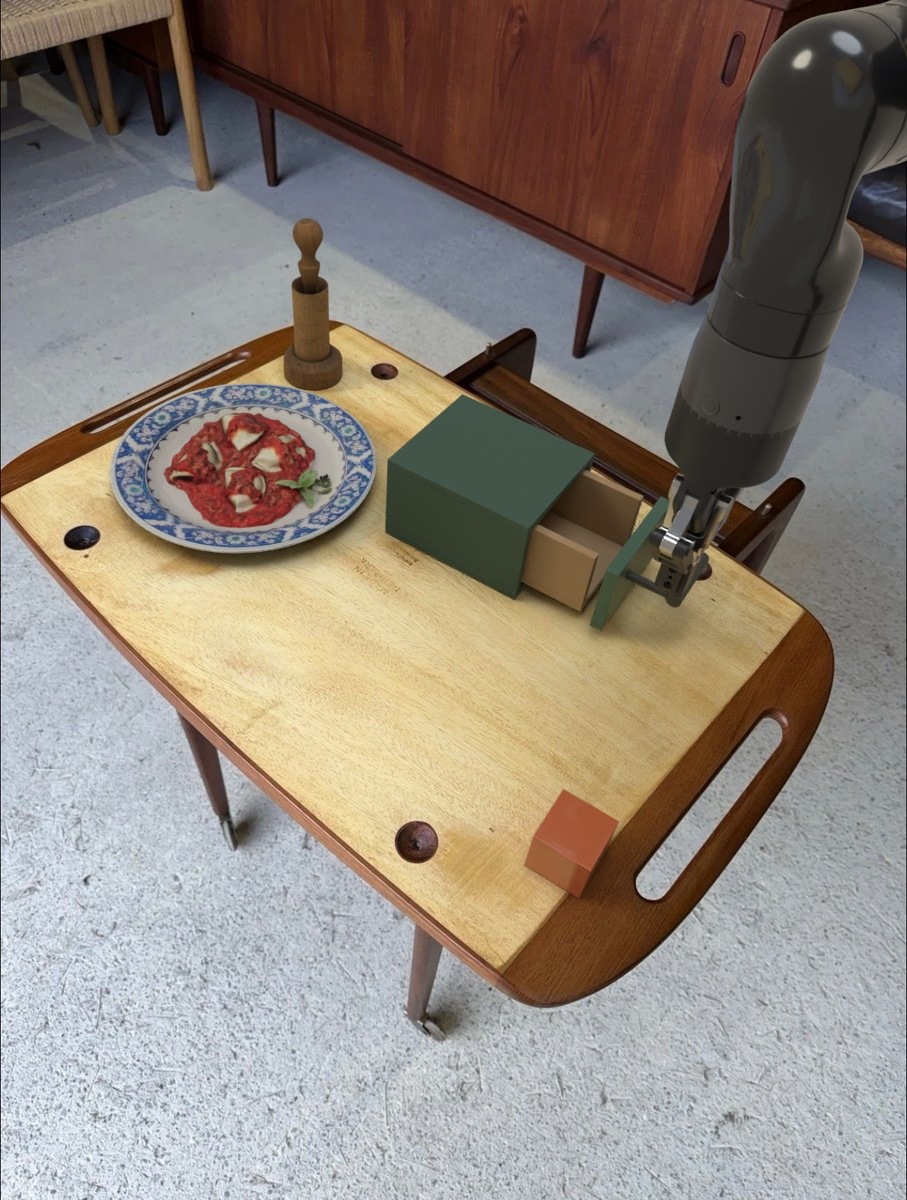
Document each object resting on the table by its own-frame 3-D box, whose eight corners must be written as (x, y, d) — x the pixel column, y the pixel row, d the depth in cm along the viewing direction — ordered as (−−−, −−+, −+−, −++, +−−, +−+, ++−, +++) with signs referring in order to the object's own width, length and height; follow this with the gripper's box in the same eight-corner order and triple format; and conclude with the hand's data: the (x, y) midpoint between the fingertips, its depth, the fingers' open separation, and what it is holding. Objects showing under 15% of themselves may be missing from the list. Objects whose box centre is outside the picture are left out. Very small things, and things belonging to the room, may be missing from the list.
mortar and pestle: (304, 397, 100) (296, 242, 86) (273, 368, 103) (261, 214, 90) (353, 378, 103) (353, 226, 90) (322, 351, 106) (317, 200, 93)
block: (606, 850, 66) (619, 821, 63) (578, 898, 64) (591, 871, 60) (553, 818, 68) (563, 788, 64) (523, 864, 65) (533, 835, 62)
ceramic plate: (57, 481, 88) (50, 457, 85) (249, 371, 102) (247, 348, 100) (246, 611, 79) (242, 589, 76) (427, 470, 93) (428, 447, 91)
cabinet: (577, 524, 90) (595, 453, 83) (514, 600, 82) (528, 528, 75) (454, 466, 94) (462, 393, 87) (384, 532, 87) (387, 459, 80)
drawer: (703, 582, 84) (727, 525, 79) (654, 659, 78) (676, 603, 72) (531, 500, 90) (542, 442, 85) (471, 565, 83) (479, 507, 78)
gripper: (763, 472, 49) (680, 667, 62) (836, 367, 57) (749, 559, 70) (640, 419, 51) (585, 617, 64) (726, 325, 59) (662, 518, 72)
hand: (670, 586), depth 67 cm, fingers closed
